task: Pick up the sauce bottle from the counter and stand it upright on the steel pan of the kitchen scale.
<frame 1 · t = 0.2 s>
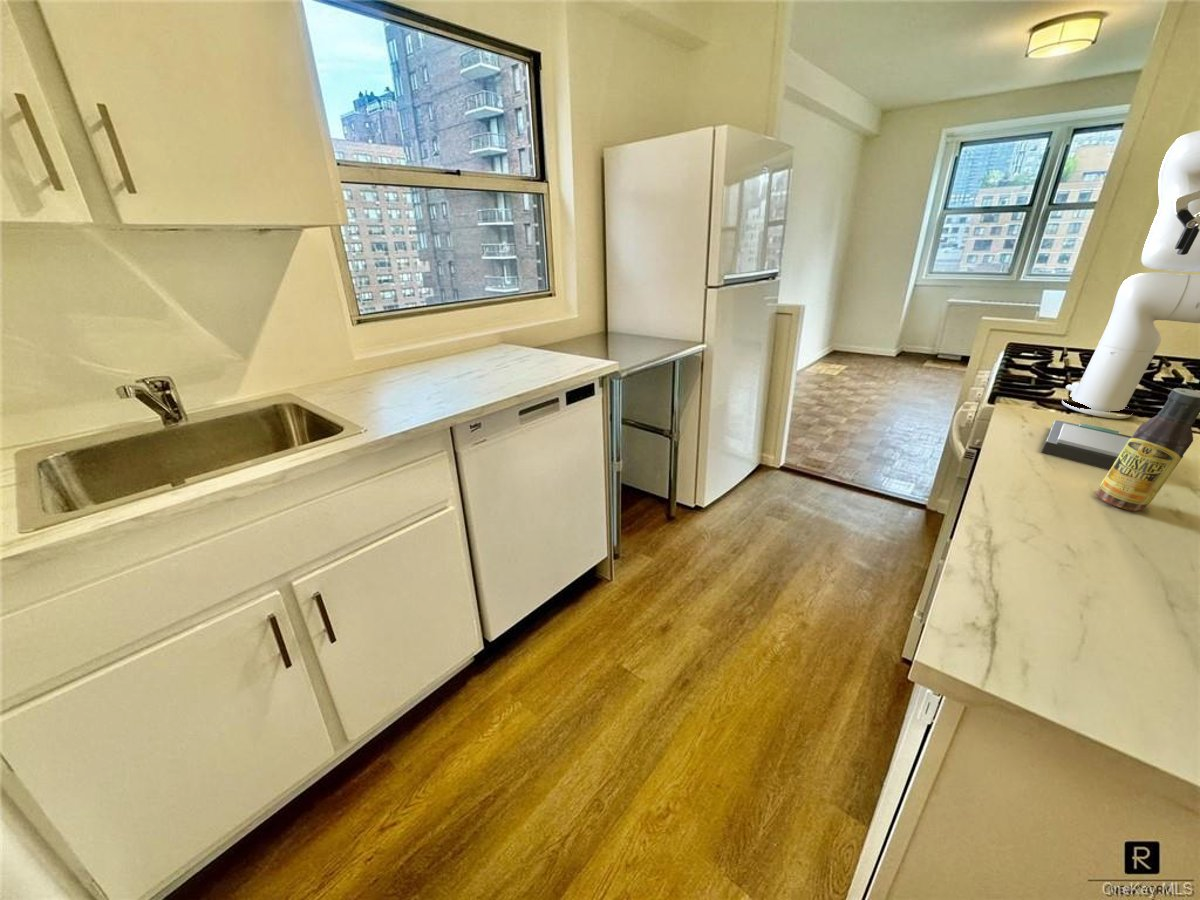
scale: (1090, 451, 98), on the worktop
sauce bottle: (1120, 504, 81), on the worktop
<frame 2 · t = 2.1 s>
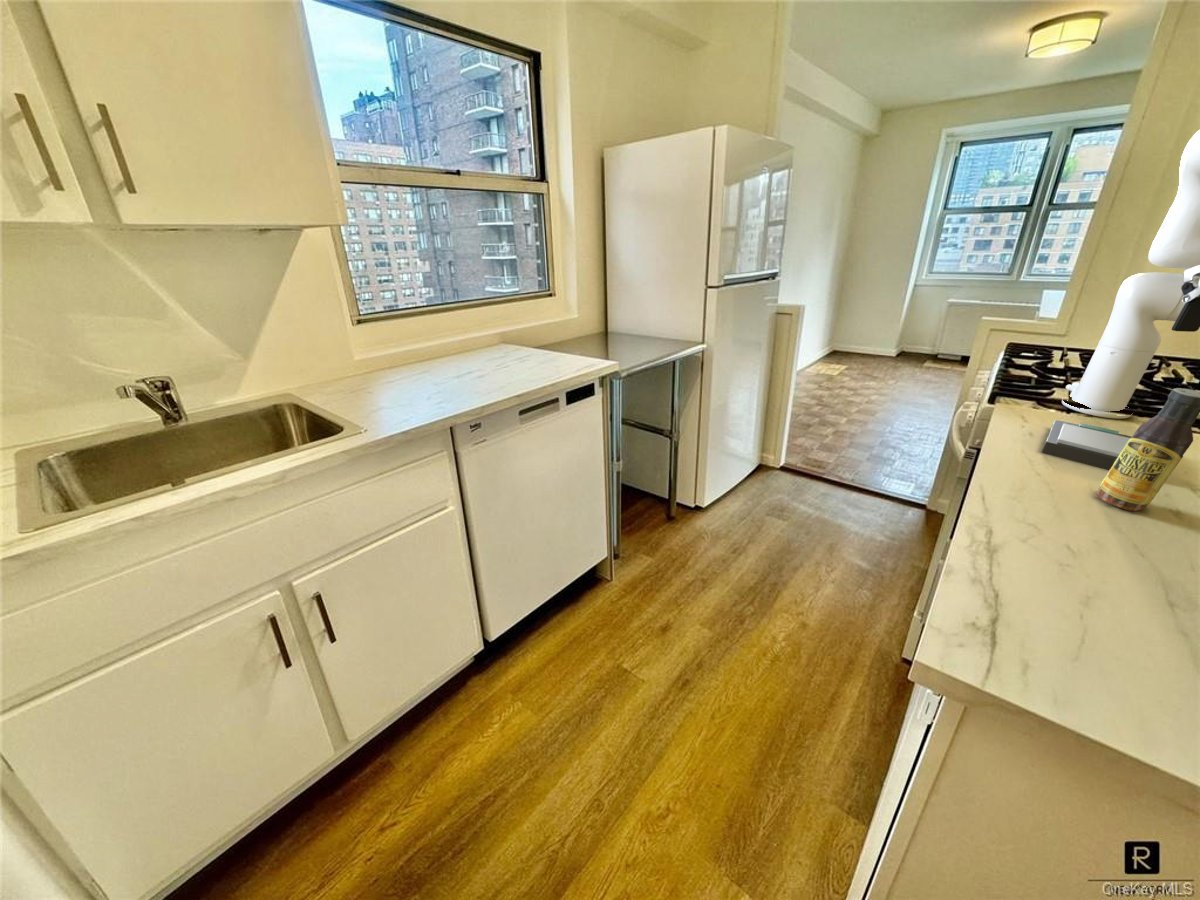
nothing on the worktop moved.
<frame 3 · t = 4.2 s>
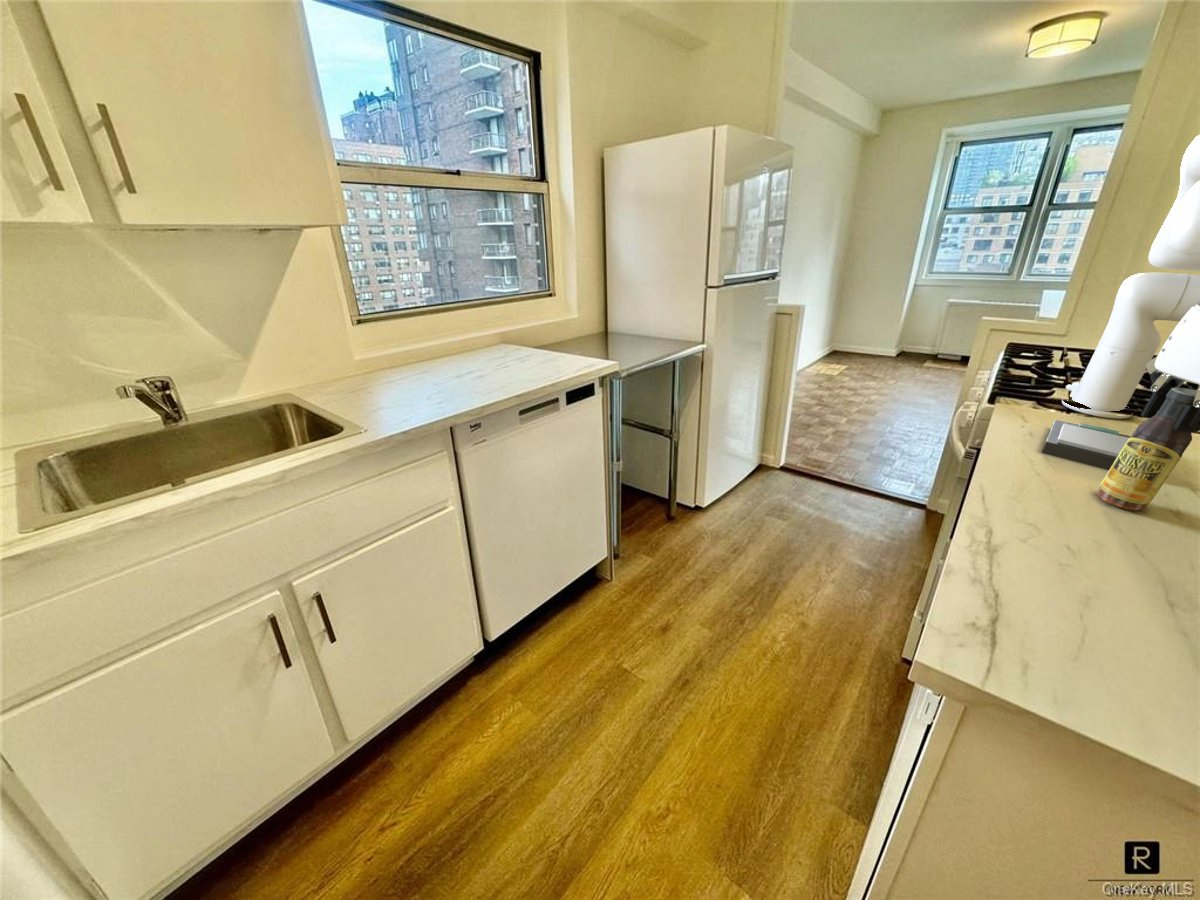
hand: (1169, 422, 74), 15 cm above the worktop, tool pointing down, fingers closed on sauce bottle, 4 cm apart
sauce bottle: (1120, 503, 81), on the worktop, touching gripper
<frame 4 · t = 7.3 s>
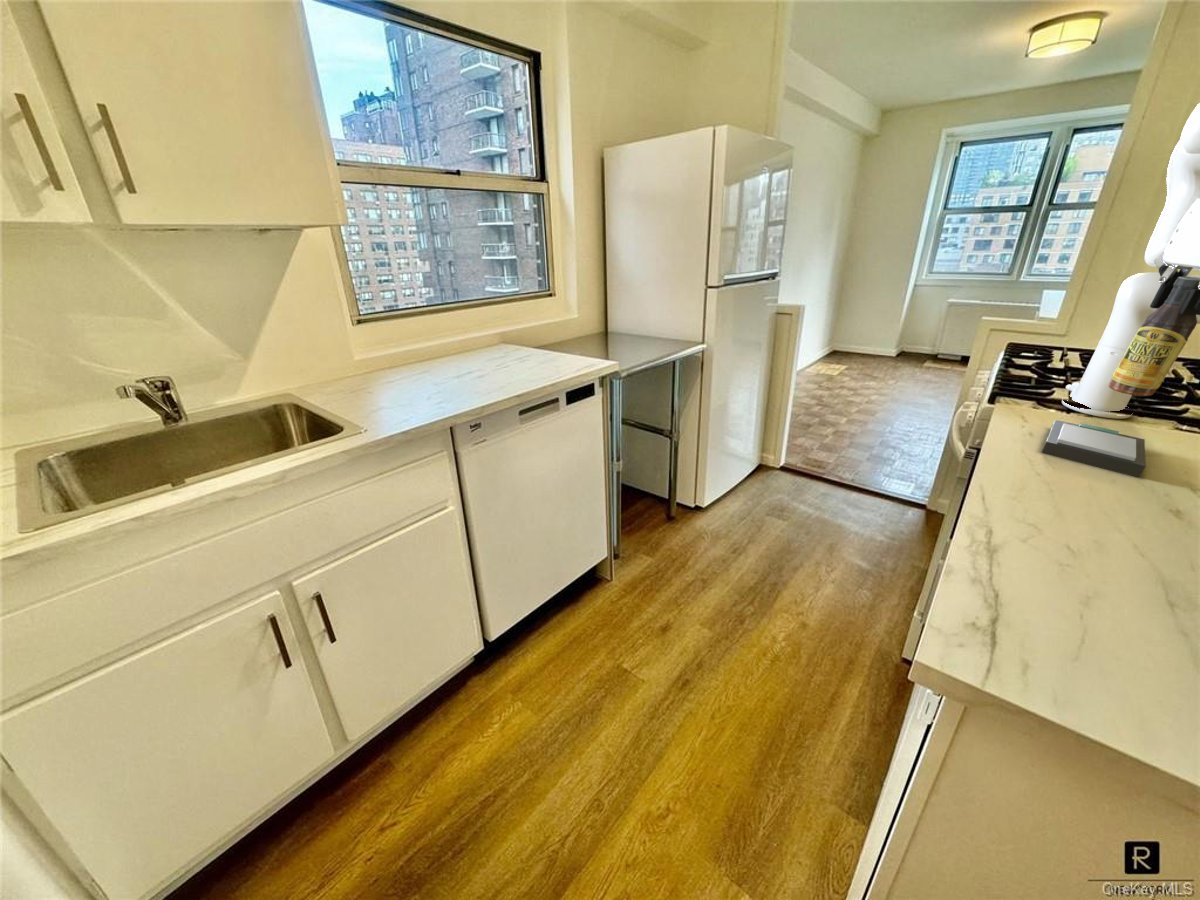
hand: (1175, 310, 81), 29 cm above the worktop, tool pointing down, fingers closed on sauce bottle, 4 cm apart
sauce bottle: (1130, 393, 88), point 14 cm above the worktop, touching gripper
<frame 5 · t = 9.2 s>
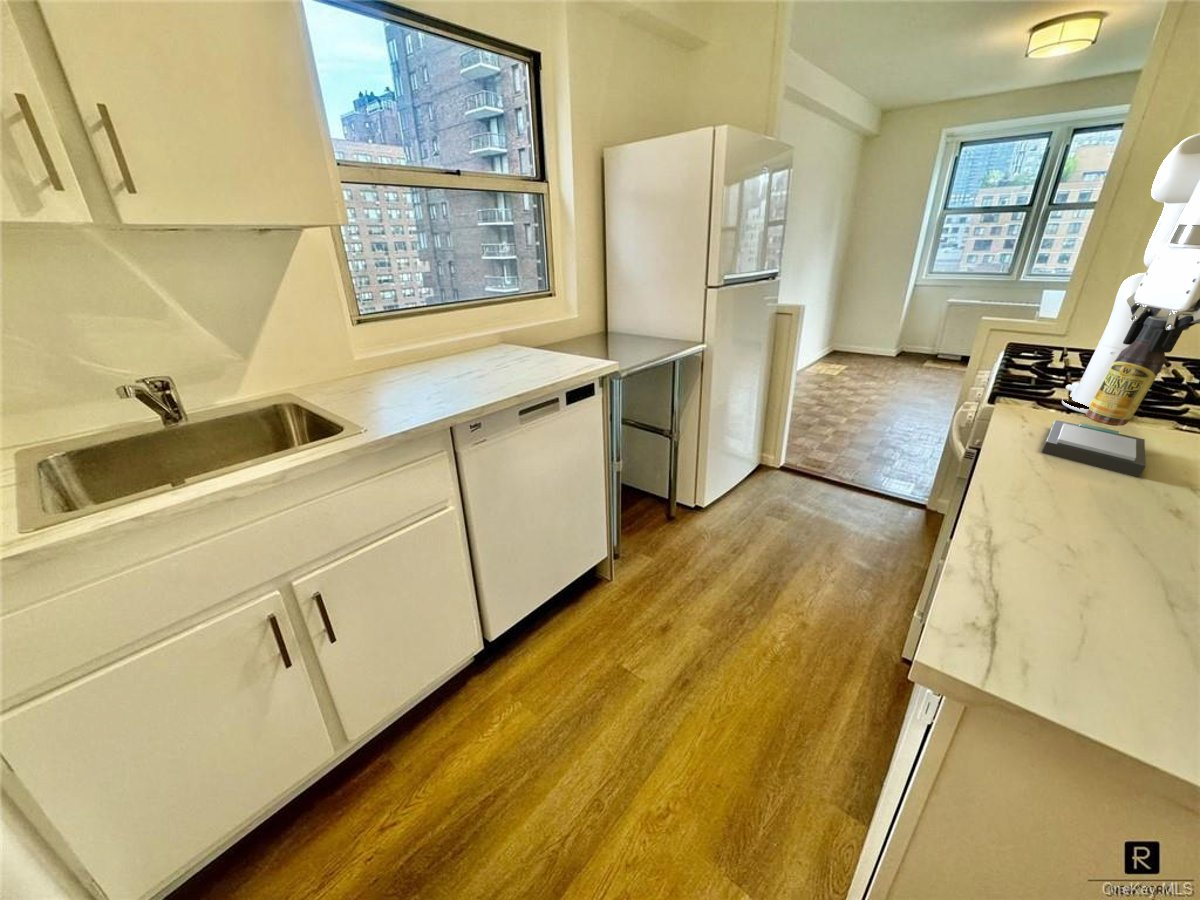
hand: (1146, 347, 87), 22 cm above the worktop, tool pointing down, fingers closed on sauce bottle, 4 cm apart
sauce bottle: (1105, 422, 94), point 7 cm above the worktop, touching gripper
when the fingers open (18 cm above the worktop, at t = 10.5 s): sauce bottle stays where it is, resting on scale.
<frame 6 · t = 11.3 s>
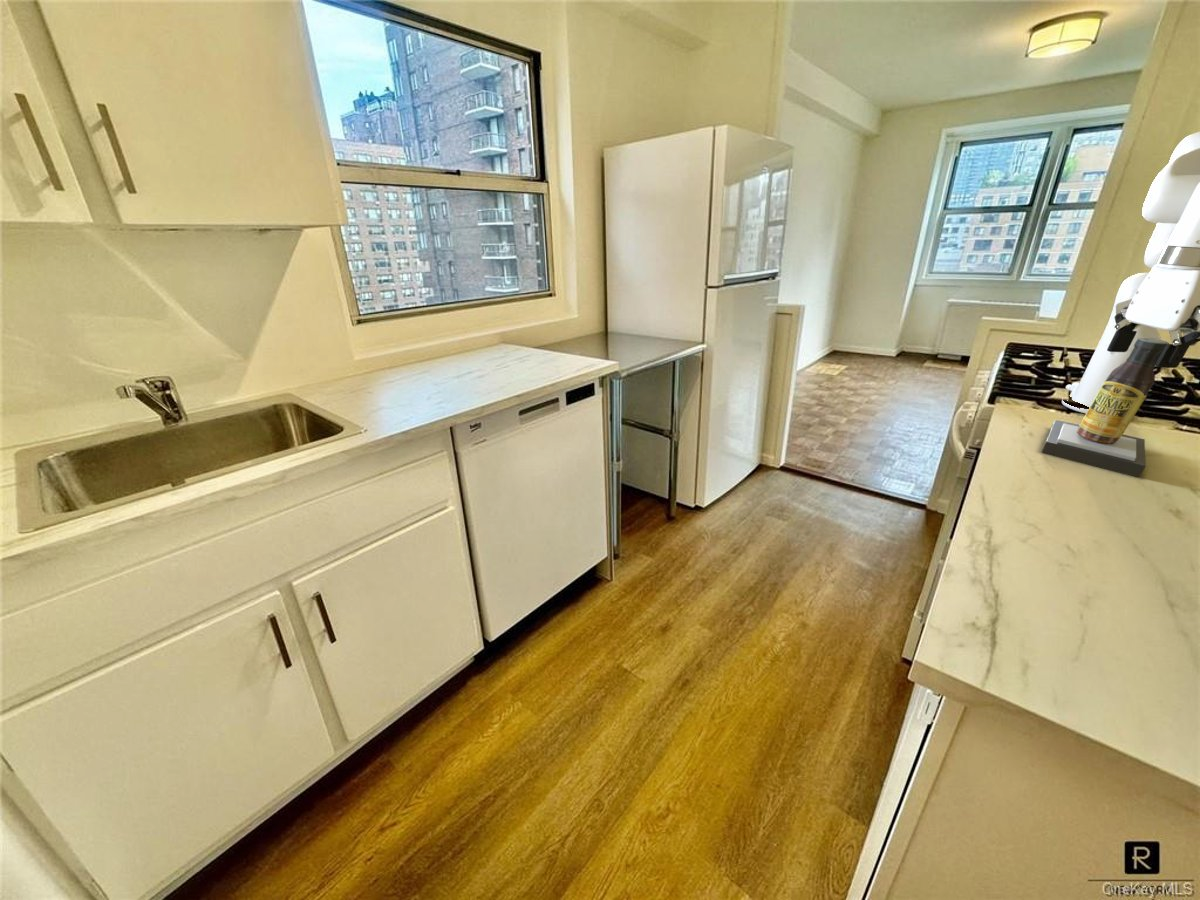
hand: (1139, 359, 88), 19 cm above the worktop, tool pointing down, fingers open, 9 cm apart
sauce bottle: (1096, 439, 96), point 3 cm above the worktop, touching scale
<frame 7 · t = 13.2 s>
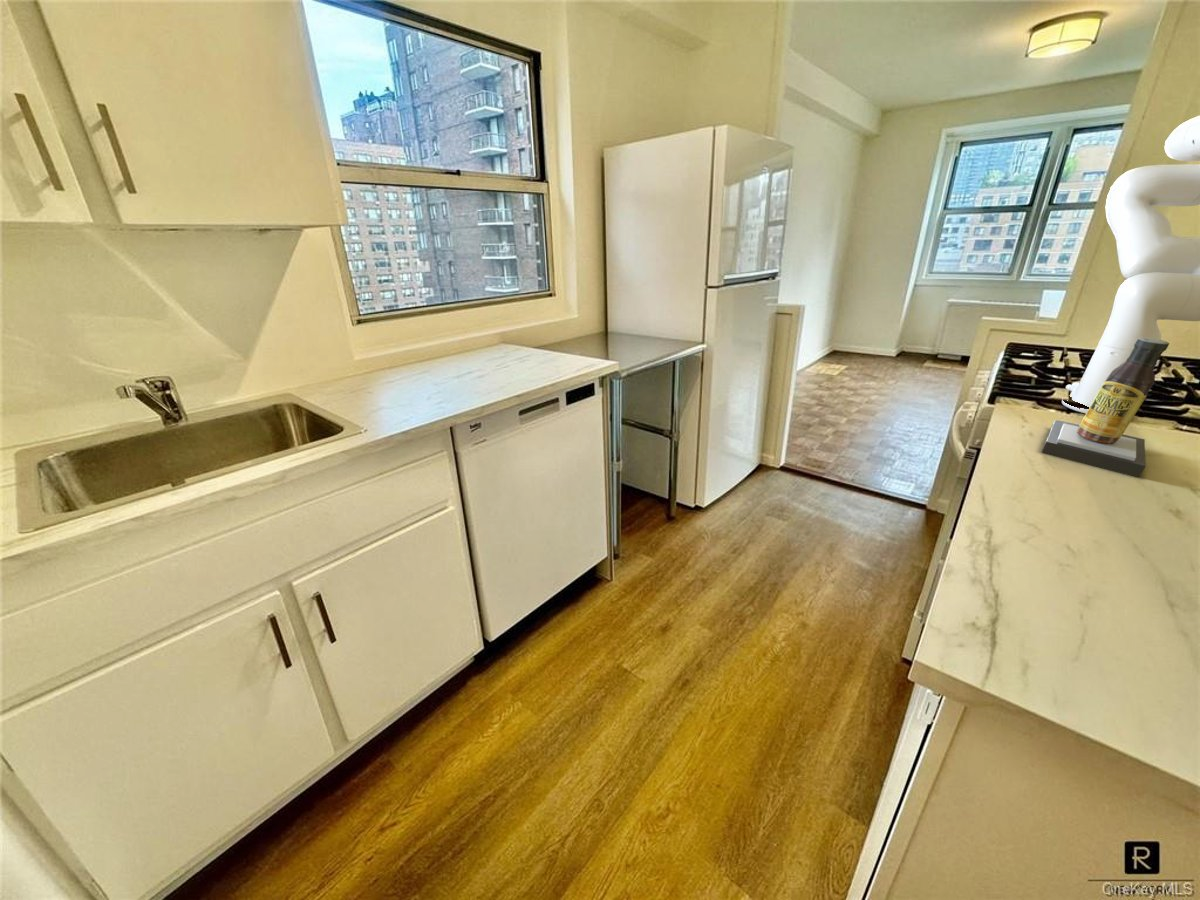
nothing on the worktop moved.
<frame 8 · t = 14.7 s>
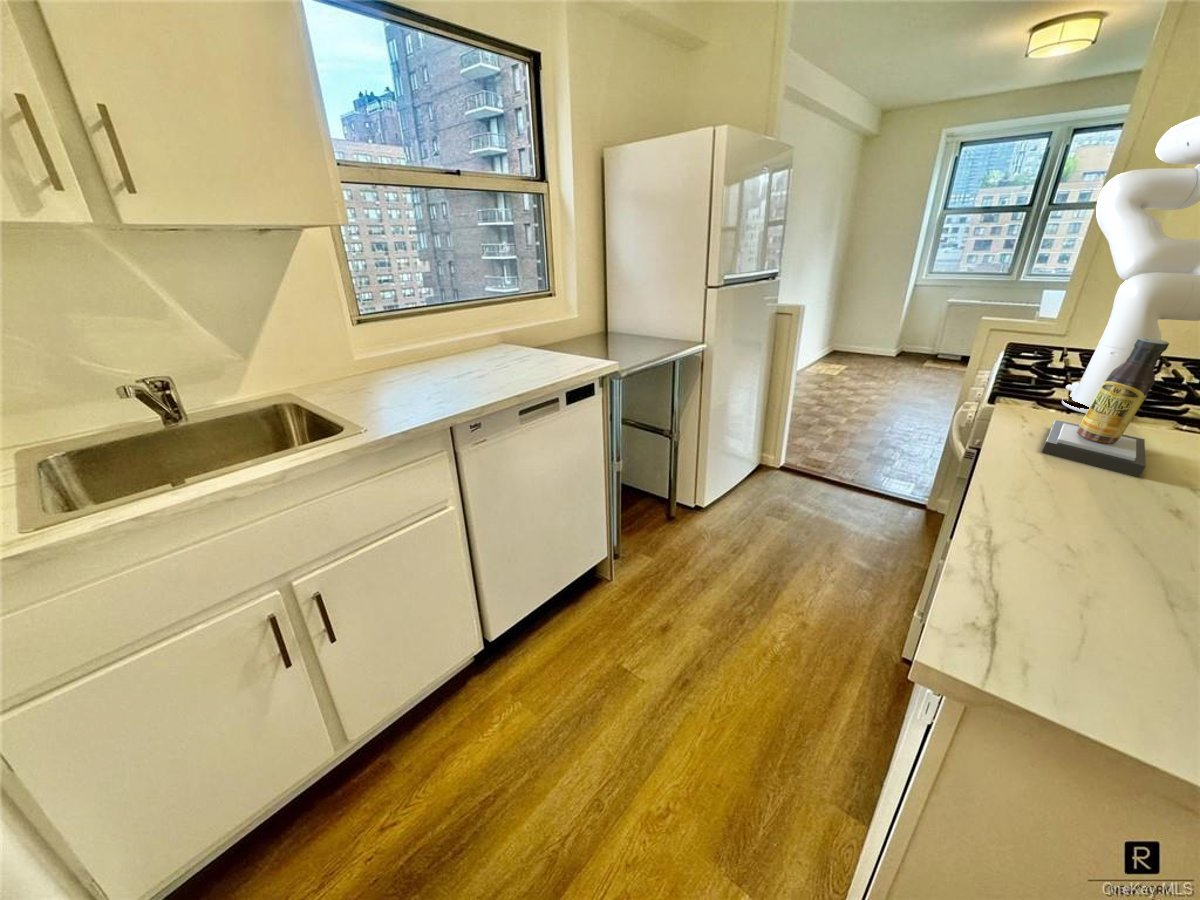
nothing on the worktop moved.
at the end: sauce bottle inside the target area on the scale (0.1 cm from its centre), point 3.0 cm above the scale's base; sauce bottle tilted 0°; the gripper is holding nothing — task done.
